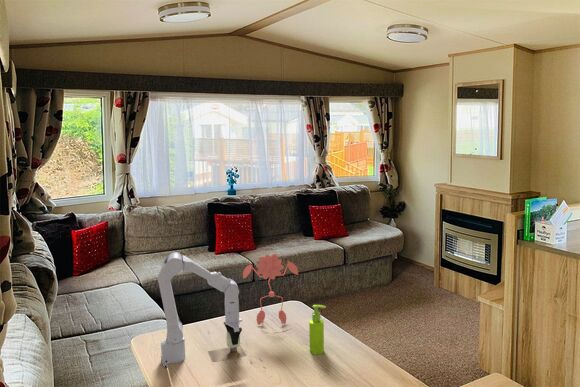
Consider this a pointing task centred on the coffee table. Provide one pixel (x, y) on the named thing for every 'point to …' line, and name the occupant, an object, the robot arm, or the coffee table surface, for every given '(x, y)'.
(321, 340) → the soap dispenser
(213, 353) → the post base
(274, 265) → the figurine
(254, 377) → the coffee table surface
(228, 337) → the cap
